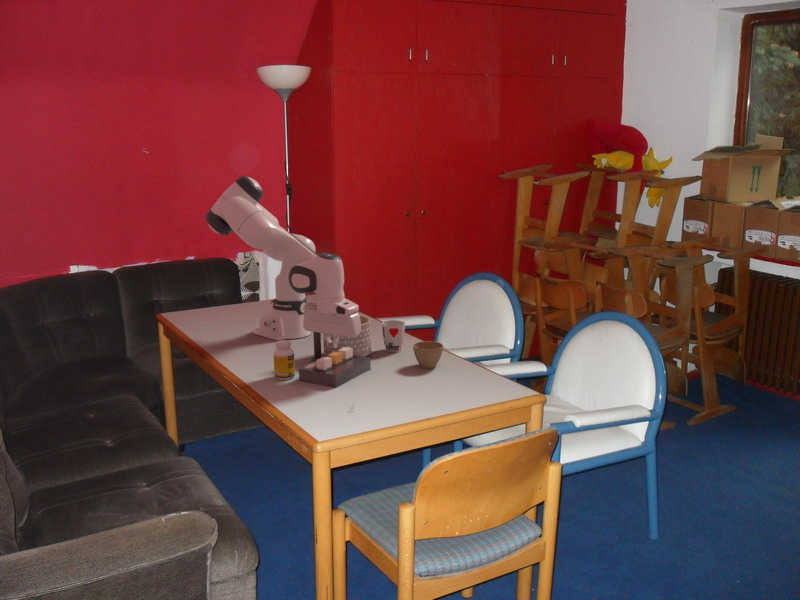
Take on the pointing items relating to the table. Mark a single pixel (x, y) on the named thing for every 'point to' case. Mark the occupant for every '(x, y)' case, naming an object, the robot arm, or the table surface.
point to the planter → (354, 340)
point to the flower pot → (428, 353)
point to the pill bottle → (284, 360)
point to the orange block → (336, 357)
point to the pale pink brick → (346, 352)
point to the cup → (393, 335)
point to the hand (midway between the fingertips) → (332, 347)
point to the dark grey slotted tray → (335, 371)
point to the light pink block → (324, 363)
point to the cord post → (317, 346)
